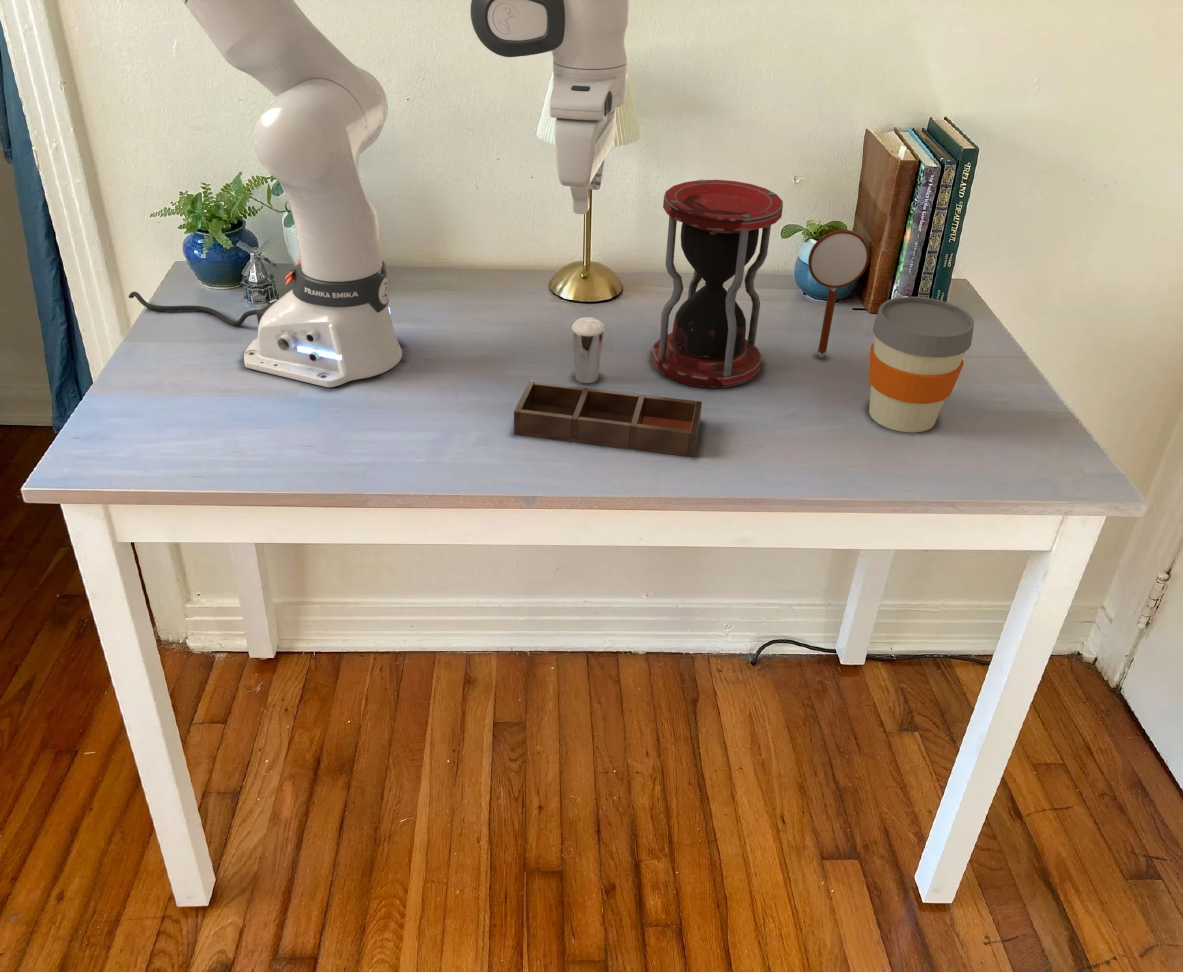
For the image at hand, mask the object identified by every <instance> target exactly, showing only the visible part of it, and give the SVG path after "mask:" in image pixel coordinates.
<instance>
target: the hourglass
mask: <svg viewBox="0 0 1183 972" xmlns="http://www.w3.org/2000/svg"><path fill="white" fill-rule="evenodd" d="M662 209H663V210H664V212H665V213H666V214H667V216H668V227H667V239H666V253H665V268H666V272H667V273H668V275H669V276H670V277H671V279H672V284H673V290H672V293H671V297H670V298H669V299H668V301H667V302H666V303H665V304H664V306H663V309H662V312H661V317H660V330H659V339H658V340H657V341H656V342H655V343H654V344H653V347H652V354H651V361H652V363H653V365H654V367H655V369H656V370H657V371H659V372H660V373H661V374H662V375H663V376H664V377H666V378H668V379H671V380H673V381H675V382H677V383H681V384H684V385H686V386H687V385H688V386H691V387H696V388H697V387H698V388H707V389H718V388H719V389H720V388H730V387H735V386H739V385H743V384H745V383H747V382H748V381H750V380H753V379H754V378H755V377H756V376H757V375H758V373H759V372H760V369H761V363H762V354H761V352H760V350H759V348H758V347H757V346H756V345H755V344H756V339H757V338H756V337H757V331H758V330H757V329H758V324H759V317H760V310H761V300H760V296H759V294H758V293H757V291H756V290H755V283H754V282H755V278H756V276H757V272H758V271H759V269H761V267H762V266H763V264H764V263H765V261H766V258H767V256H768V251H769V245H770V238H771V237H770V236H771V229H772V226H773V225H774V224H777V222H778V221H780V219H782V216H783V209H784V201H783V199H782V198H781V197H780V196H779V195H778V194H777V193H775V192H773V191H771V190H769V189H768V188H766V187H762V186H759V185H757V184H753V183H747V182H742V181H737V180H727V179H726V180H725V179H698V180H691V181H684V182H681V183H677V184H675V185H672V186H671V187H669V188H668V189H666V190H665V192H664V196H663V202H662ZM677 222H679V223H681V228H680V229H681V230H680V248H681V250H682V253H683V255H684V257H685V259H686V260H687V262H688V263H689V265H690V266H691V267H692V269H693V277H692V278H691V280H690V281H689V285H688V291H687V293H688V294H687V299H686V300H685V301H684V302H683V303H681V305H680V306H679V308H678V309H677V311H676V313H675V316H674V321H673V325H672V331H671V332H670V333H669V323H670V322H669V321H670V315H671V313H672V311H673V309H674V307H675V306H676V305H677V304H678V303H679V301H680V299H681V297H682V294H683V291H684V284H683V283H684V282H683V278H682V275H680V273H679V272H678V271H677V269H676V266H675V263H674V261H675V260H674V259H675V250H676V235H677V225H678V223H677ZM760 229H762V231H761V237H760V236H759V235H760ZM759 237H760V246H759V253H758V255H757V256H756V258H755V260H754V262H753V263H751V265H750V266H749V267H748V269H747V272H746V274H745V267H746V265H747V264H749V263H750V261H751V260H752V258H753V257H754V256H755V254H756V250H757V246H758V243H759ZM744 275H745V277H744ZM733 277H734V278H733ZM731 278H733V281H732V283H731V285H730V286H729V287H728V289H726V288H725V287H724V284H725V283H726V282H727V281H729V280H730V279H731ZM702 280H703V281H704V282H705V283H704V285H703V286H702V287H701V288H700V289H698V290H697V288H698V285H699V284H700V282H701V281H702ZM743 280H744V286H745V288H744V289H745V292H746V293H747V294H748V296H749V297H750V300H751V305H752V306H751V313H750V321H749V329H748V335H747V338H746V334H747V320H746V316H745V314H744V311H743V310H742V308H741V306H740V305H739V304H738V302H737V301H736V300H737V299H736V298H737V294H738V291H739V290H740V289H741V287H742V284H743Z"/></svg>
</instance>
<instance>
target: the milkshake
mask: <svg viewBox="0 0 1183 972" xmlns="http://www.w3.org/2000/svg"><path fill="white" fill-rule="evenodd" d="M610 320H611V317H609V318H608V319H607V322H606V324H605V325H604V323H603V322H602V321H601V320H599V319H597V318H595V317H579V318H577V319H576V320H575V321H573V324H571V325H572V326H571V335H572V345H573V359H574V360H573V361H574V376H575V380H576V381H577V382H578V383H581V384H588V385H589V384H592V383H596V381H598V379H599V373H600V364H601V356H602V355H601V354H602V348H603V341H604V334H605V329H606V327H607V325H608V323H609V321H610Z"/></svg>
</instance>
